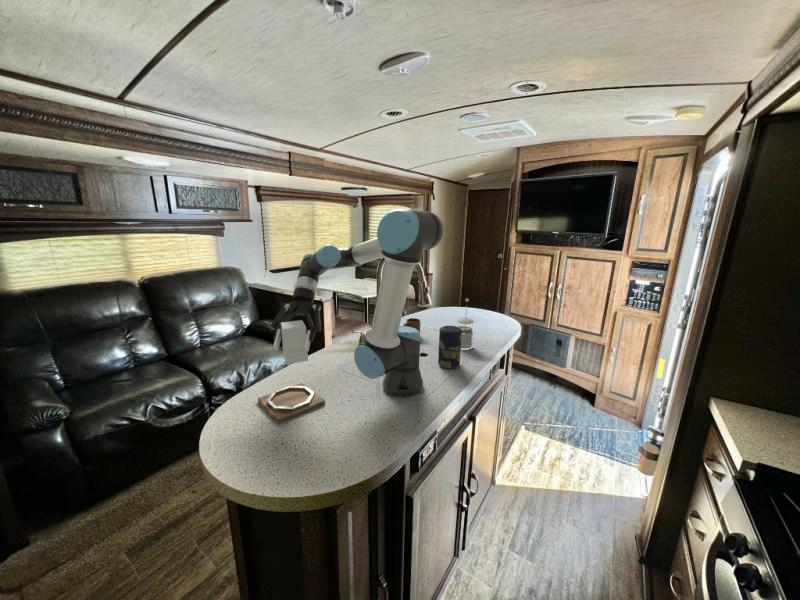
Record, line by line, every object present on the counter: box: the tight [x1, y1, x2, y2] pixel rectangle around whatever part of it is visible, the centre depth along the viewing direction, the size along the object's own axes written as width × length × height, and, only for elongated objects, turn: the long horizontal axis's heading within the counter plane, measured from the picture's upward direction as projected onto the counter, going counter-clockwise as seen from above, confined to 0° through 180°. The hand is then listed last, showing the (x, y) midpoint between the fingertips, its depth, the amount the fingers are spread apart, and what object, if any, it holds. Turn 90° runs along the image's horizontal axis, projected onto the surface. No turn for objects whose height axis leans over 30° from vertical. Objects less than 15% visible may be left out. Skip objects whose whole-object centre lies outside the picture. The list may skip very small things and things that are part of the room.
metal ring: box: [267, 385, 315, 412], centre depth 106 cm, size 14×14×1 cm
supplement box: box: [281, 319, 309, 365], centre depth 108 cm, size 7×7×13 cm
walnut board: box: [257, 382, 326, 424], centre depth 107 cm, size 16×16×2 cm
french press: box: [457, 298, 475, 348], centre depth 156 cm, size 10×12×25 cm
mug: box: [402, 317, 421, 333], centre depth 170 cm, size 12×8×9 cm, turn 138°
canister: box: [437, 325, 463, 369], centre depth 136 cm, size 10×10×18 cm
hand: (290, 349), depth 105 cm, fingers closed on supplement box, 10 cm apart
